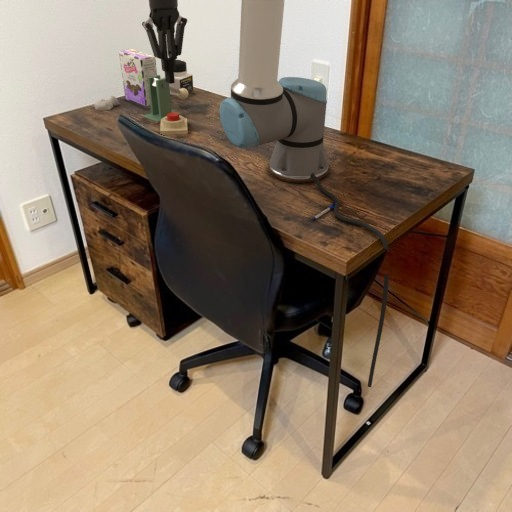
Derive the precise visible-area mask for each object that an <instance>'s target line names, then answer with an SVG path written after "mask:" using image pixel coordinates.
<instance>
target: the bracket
mask: <svg viewBox="0 0 512 512" xmlns="http://www.w3.org/2000/svg"><path fill="white" fill-rule="evenodd" d="M154 78H157V79H158V80H156V87H155V86H152V83H153V80H154ZM147 80H148V89H149V98H150V106H149V107H150V113H146V114H143V115H141V117H143V118H145V119H148V120H151V121H152V122H156V123H158V122H161V119H162V118H164V117H166V116H167V114H168V113H172V112H175V113H179V115H182V113H181V112H179V111H177V110H176V111H175V110H172V101H171V100H172V99H171V94H170V88H169V83H167V82H166V81H165V77H162V78H161V74H157V75H156V76H152V77H148V78H147Z"/></svg>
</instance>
